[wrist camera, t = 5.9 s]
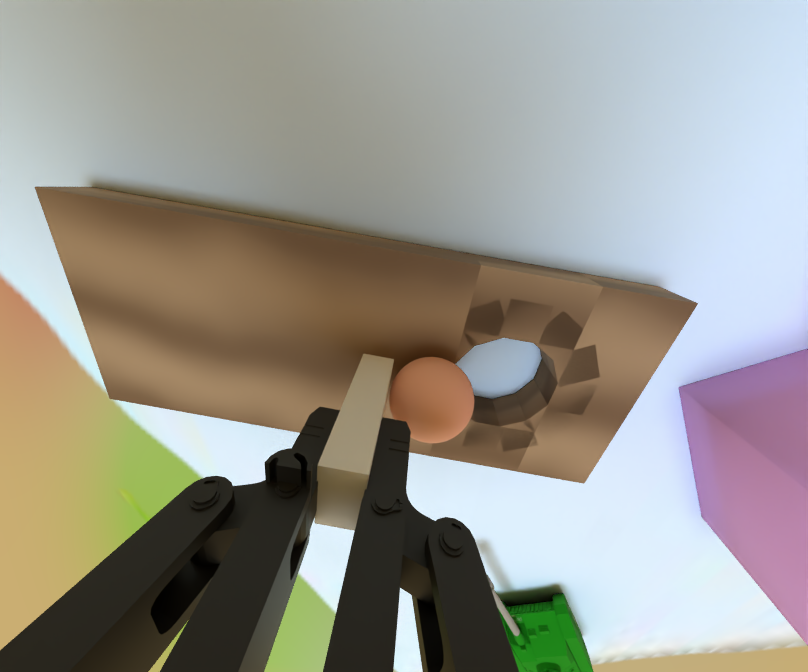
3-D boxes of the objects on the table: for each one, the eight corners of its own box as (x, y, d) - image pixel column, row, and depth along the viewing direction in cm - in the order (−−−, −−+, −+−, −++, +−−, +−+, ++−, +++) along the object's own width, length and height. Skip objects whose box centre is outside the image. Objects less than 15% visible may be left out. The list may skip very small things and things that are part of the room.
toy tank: (533, 526, 25) (556, 599, 21) (581, 633, 32) (605, 705, 28) (455, 540, 27) (460, 611, 22) (516, 639, 34) (529, 708, 29)
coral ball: (486, 355, 15) (409, 335, 16) (481, 399, 11) (382, 370, 12) (467, 419, 17) (398, 398, 17) (457, 475, 13) (371, 445, 14)
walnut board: (91, 186, 16) (34, 186, 13) (659, 287, 16) (698, 303, 13) (143, 376, 21) (109, 398, 19) (567, 451, 21) (584, 483, 19)
